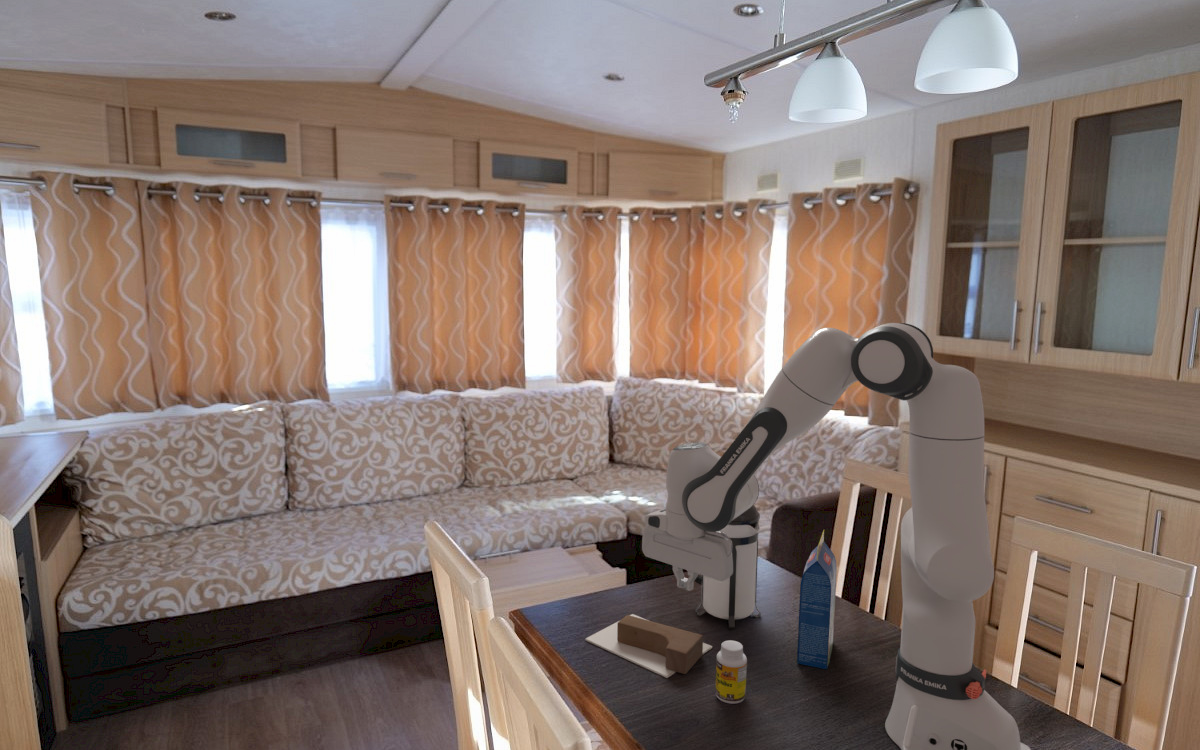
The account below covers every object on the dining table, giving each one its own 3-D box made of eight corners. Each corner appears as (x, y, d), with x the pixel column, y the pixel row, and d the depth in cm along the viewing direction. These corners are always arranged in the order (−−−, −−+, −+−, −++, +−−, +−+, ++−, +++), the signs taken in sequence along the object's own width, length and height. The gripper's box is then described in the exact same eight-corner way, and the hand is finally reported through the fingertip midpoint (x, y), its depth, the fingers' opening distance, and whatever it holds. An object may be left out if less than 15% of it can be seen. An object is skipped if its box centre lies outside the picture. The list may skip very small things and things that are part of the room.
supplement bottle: (709, 695, 134) (710, 643, 133) (729, 685, 138) (731, 634, 136) (731, 709, 130) (733, 656, 129) (751, 698, 133) (753, 646, 132)
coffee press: (757, 601, 174) (762, 482, 170) (763, 633, 158) (768, 501, 155) (686, 597, 176) (688, 478, 173) (684, 627, 161) (687, 498, 157)
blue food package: (795, 663, 146) (801, 545, 143) (803, 637, 157) (808, 527, 154) (828, 670, 143) (834, 550, 140) (833, 643, 154) (839, 531, 151)
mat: (712, 648, 152) (712, 646, 152) (667, 678, 140) (667, 676, 140) (632, 615, 166) (632, 613, 166) (585, 640, 154) (585, 638, 154)
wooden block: (686, 653, 140) (606, 630, 149) (685, 675, 140) (606, 651, 149) (703, 634, 147) (626, 613, 156) (703, 655, 148) (626, 633, 157)
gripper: (740, 531, 139) (738, 598, 140) (656, 507, 152) (655, 570, 154) (723, 539, 134) (720, 609, 136) (638, 514, 148) (636, 578, 149)
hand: (685, 588), depth 145 cm, fingers closed
